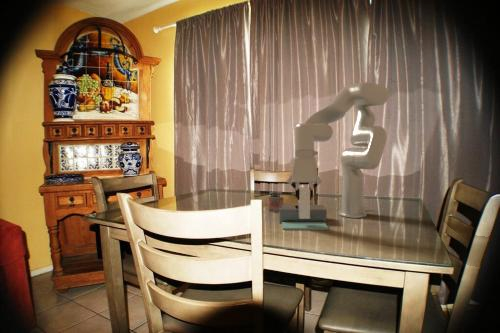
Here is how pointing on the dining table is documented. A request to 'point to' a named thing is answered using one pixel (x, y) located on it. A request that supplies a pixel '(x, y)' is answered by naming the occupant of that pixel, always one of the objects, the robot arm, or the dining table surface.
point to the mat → (304, 226)
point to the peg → (304, 203)
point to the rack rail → (291, 215)
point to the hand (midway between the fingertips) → (304, 198)
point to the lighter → (275, 201)
